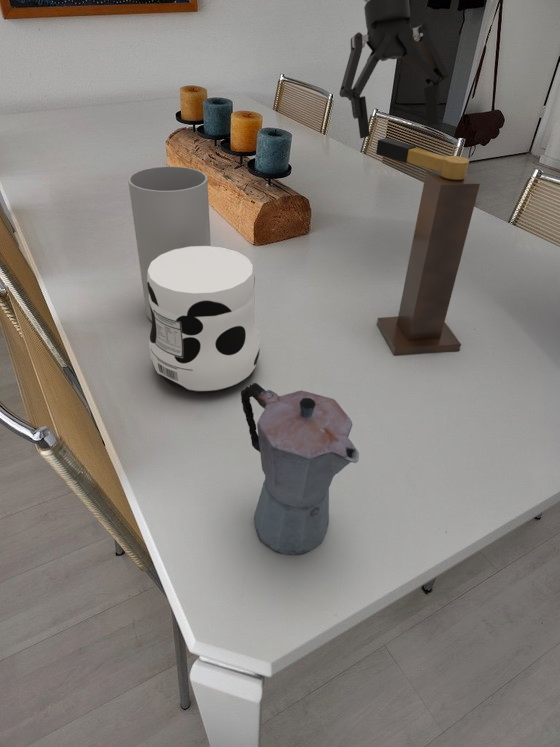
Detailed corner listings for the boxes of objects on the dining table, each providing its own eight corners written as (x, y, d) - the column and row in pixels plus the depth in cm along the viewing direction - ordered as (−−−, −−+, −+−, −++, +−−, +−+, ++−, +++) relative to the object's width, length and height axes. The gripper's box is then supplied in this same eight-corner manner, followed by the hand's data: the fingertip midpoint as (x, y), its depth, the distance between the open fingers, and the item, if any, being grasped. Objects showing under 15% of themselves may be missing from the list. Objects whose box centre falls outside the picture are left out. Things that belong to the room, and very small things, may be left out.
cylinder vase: (137, 326, 98) (115, 187, 83) (158, 293, 108) (143, 163, 93) (204, 333, 97) (195, 194, 82) (220, 299, 107) (215, 169, 91)
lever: (387, 151, 90) (389, 136, 88) (469, 176, 81) (474, 160, 79) (372, 155, 88) (375, 139, 86) (456, 181, 79) (460, 164, 77)
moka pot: (318, 588, 58) (336, 459, 46) (213, 515, 66) (204, 386, 53) (363, 530, 65) (389, 402, 52) (262, 469, 72) (264, 344, 60)
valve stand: (437, 320, 103) (475, 166, 86) (459, 351, 95) (505, 187, 78) (376, 324, 101) (402, 167, 84) (393, 355, 93) (426, 189, 76)
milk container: (258, 338, 96) (260, 243, 85) (260, 402, 82) (262, 298, 72) (160, 338, 95) (148, 241, 84) (145, 402, 81) (129, 297, 71)
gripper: (439, -3, 99) (449, 123, 105) (310, 14, 94) (328, 144, 101) (462, -19, 92) (471, 116, 99) (324, -2, 87) (343, 139, 94)
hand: (399, 131), depth 100 cm, fingers open, 13 cm apart
